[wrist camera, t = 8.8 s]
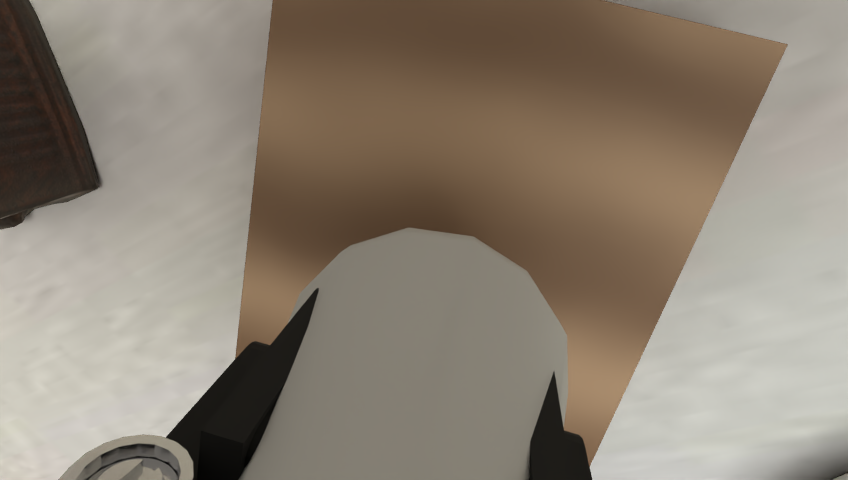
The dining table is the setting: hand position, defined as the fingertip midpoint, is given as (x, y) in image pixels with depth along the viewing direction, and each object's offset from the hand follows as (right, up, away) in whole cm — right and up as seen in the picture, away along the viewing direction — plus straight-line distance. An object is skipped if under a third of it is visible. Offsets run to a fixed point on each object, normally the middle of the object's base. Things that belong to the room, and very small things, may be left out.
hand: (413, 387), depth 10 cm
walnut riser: (+2, +4, +11) cm, 11 cm away
